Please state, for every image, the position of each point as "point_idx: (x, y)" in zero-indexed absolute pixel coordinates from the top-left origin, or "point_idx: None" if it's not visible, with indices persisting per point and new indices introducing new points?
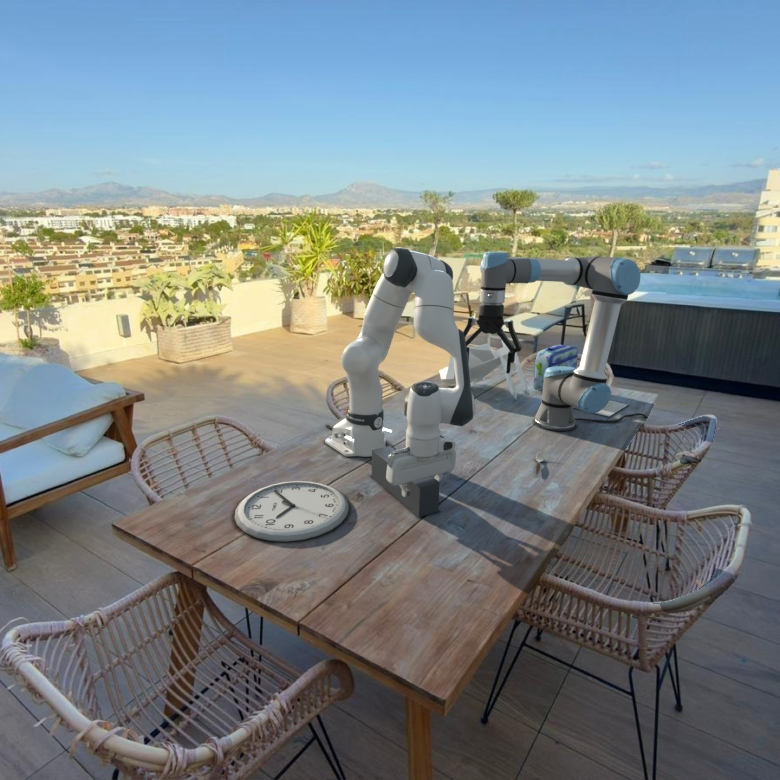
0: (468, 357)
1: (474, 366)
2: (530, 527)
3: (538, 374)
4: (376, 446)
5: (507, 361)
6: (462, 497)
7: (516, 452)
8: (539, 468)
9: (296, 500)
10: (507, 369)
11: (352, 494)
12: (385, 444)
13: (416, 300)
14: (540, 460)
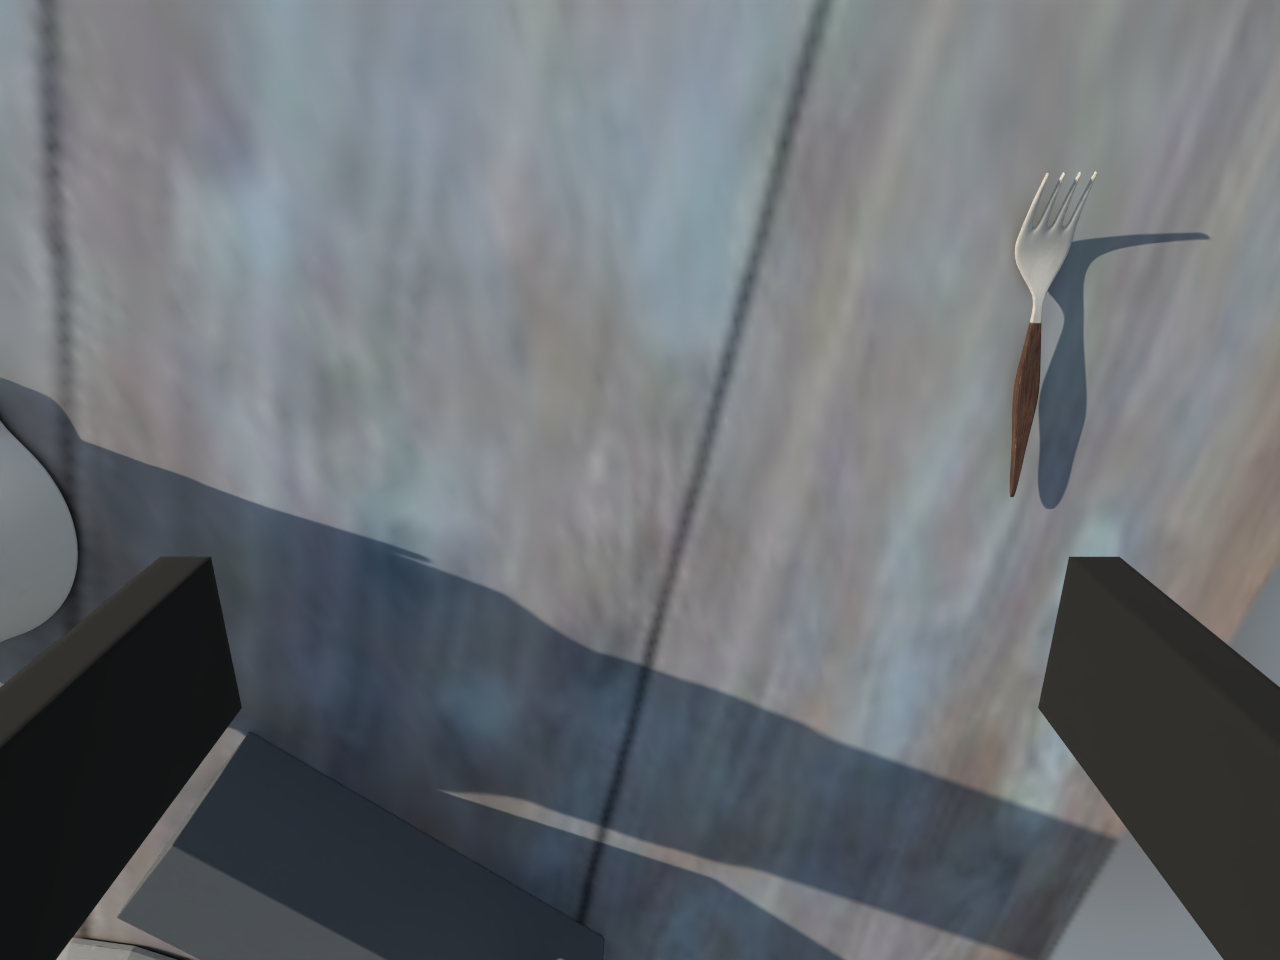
0: (82, 718)
1: None
2: (967, 913)
3: None
4: (22, 606)
5: (1187, 908)
6: (666, 814)
7: (876, 165)
8: (1034, 410)
9: None
10: (1094, 761)
11: None
12: (28, 492)
13: None
14: (1046, 264)
